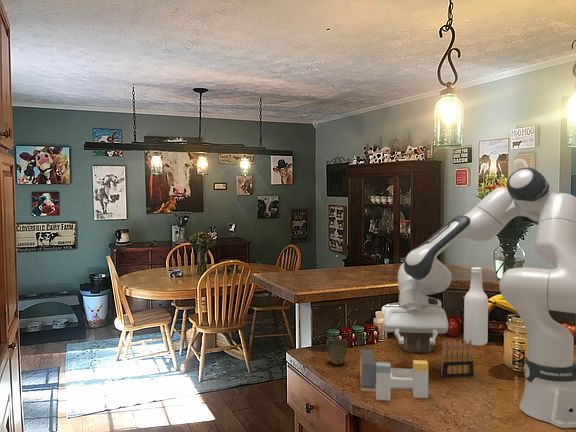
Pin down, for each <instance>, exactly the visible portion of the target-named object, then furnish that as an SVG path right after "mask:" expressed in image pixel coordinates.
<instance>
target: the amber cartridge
mask: <svg viewBox="0 0 576 432" xmlns="http://www.w3.org/2000/svg"><path fill="white" fill-rule="evenodd" d="M412 369H413V389H412V395H413V396H412V397H413V398H415V399H416V398H418V399H419V398H420V399H428V398H429V362H428V361H427V360H415V359H414V360H412Z"/></svg>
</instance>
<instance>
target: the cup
mask: <svg viewBox="0 0 576 432" xmlns="http://www.w3.org/2000/svg"><path fill="white" fill-rule="evenodd" d="M325 343H326V350H327V356H328V358H329V359H330V360H331V363H332V364H333V366H334V365H335V366H340V365H342V364H343V360H344V359H346V356H347V351H348V345H349V344H348V341H347V339H345V340H344V338H343V339H342V340H341V338H336V339H335V338H332V339H331V338H329V339H326V342H325Z"/></svg>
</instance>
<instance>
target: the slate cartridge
mask: <svg viewBox="0 0 576 432" xmlns="http://www.w3.org/2000/svg"><path fill="white" fill-rule="evenodd" d="M391 368H392V366H391V363H390V362H380V361H379V362H377V361H375V382H376V392H375V398H376V399H375V400H376V401H388V402H389V401H391V392H392V391H391Z"/></svg>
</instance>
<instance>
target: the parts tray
mask: <svg viewBox="0 0 576 432" xmlns="http://www.w3.org/2000/svg"><path fill="white" fill-rule="evenodd" d="M391 389H395V390H413V368H402V367H401V368H400V367H399V368H398V367H391Z"/></svg>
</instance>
